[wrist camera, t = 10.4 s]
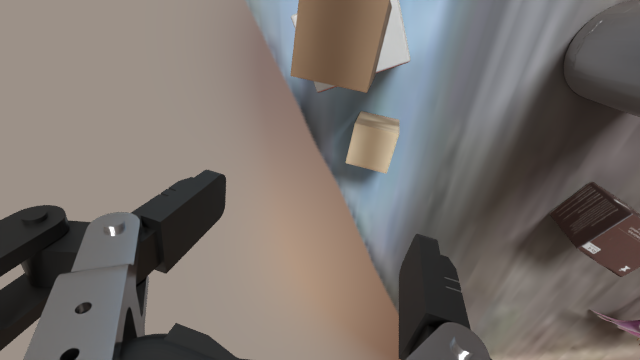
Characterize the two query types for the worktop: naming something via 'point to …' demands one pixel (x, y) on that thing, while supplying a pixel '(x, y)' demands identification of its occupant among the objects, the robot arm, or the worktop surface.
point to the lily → (625, 325)
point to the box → (601, 228)
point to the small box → (384, 44)
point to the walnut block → (340, 41)
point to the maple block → (373, 142)
